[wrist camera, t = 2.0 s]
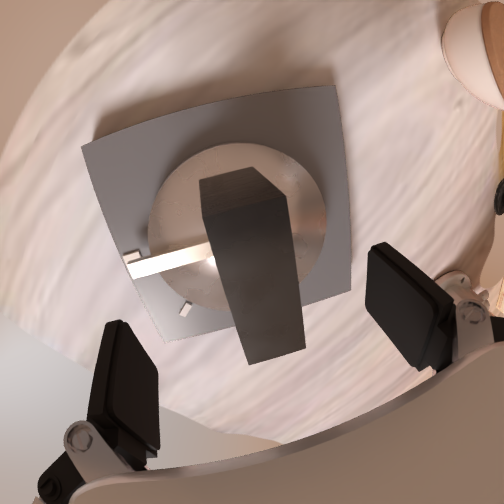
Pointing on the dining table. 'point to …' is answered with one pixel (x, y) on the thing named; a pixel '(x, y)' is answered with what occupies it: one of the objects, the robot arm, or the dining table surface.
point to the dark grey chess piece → (499, 199)
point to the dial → (239, 240)
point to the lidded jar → (477, 51)
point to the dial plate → (208, 134)
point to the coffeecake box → (501, 299)
